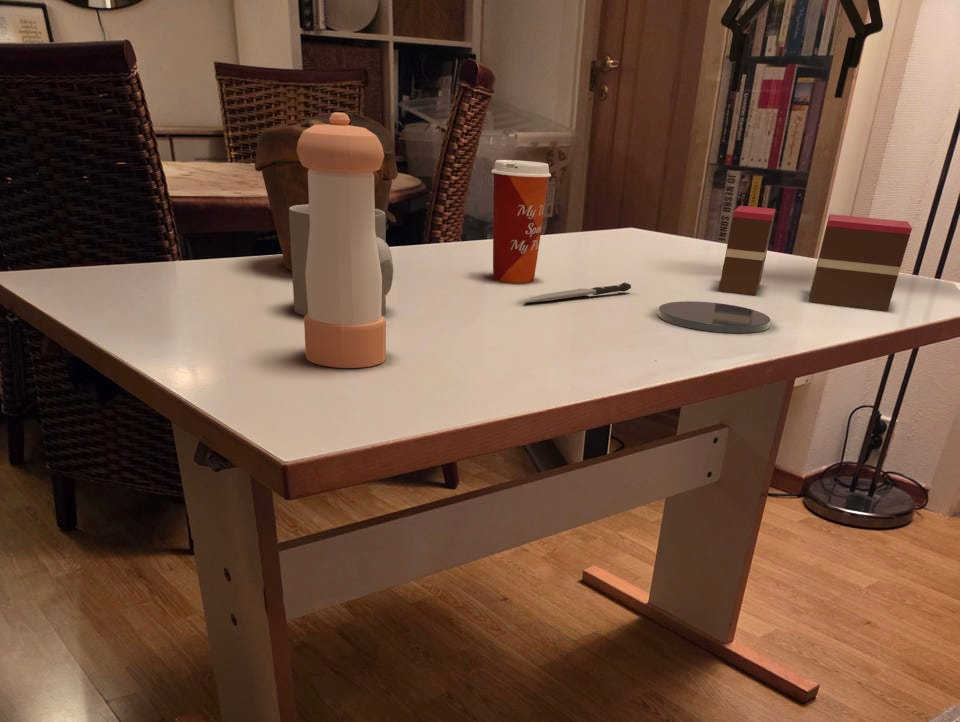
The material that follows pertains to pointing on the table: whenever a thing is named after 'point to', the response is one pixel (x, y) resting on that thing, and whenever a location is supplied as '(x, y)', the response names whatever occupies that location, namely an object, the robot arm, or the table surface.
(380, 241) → the coffee mug
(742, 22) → the robot arm
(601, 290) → the chef's knife
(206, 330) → the table surface
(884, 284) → the cake
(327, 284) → the salt shaker
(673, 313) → the cake plate
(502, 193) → the paper cup
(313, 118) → the flower pot
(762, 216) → the cake slice
